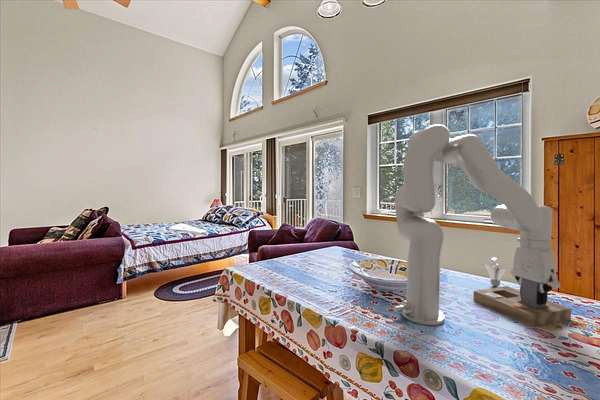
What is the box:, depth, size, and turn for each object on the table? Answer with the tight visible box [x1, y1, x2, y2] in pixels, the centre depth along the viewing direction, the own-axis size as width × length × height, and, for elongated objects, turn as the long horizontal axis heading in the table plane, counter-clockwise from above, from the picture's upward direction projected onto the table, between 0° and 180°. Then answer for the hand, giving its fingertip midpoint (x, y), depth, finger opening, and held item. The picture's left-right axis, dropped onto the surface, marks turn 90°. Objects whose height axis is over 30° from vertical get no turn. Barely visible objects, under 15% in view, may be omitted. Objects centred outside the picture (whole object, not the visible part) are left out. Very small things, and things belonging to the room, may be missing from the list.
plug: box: [521, 278, 546, 310], centre depth 89 cm, size 4×4×15 cm
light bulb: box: [485, 257, 507, 288], centre depth 114 cm, size 7×7×12 cm
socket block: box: [473, 285, 572, 328], centre depth 93 cm, size 16×20×4 cm
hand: (533, 300), depth 89 cm, fingers closed on plug, 4 cm apart
